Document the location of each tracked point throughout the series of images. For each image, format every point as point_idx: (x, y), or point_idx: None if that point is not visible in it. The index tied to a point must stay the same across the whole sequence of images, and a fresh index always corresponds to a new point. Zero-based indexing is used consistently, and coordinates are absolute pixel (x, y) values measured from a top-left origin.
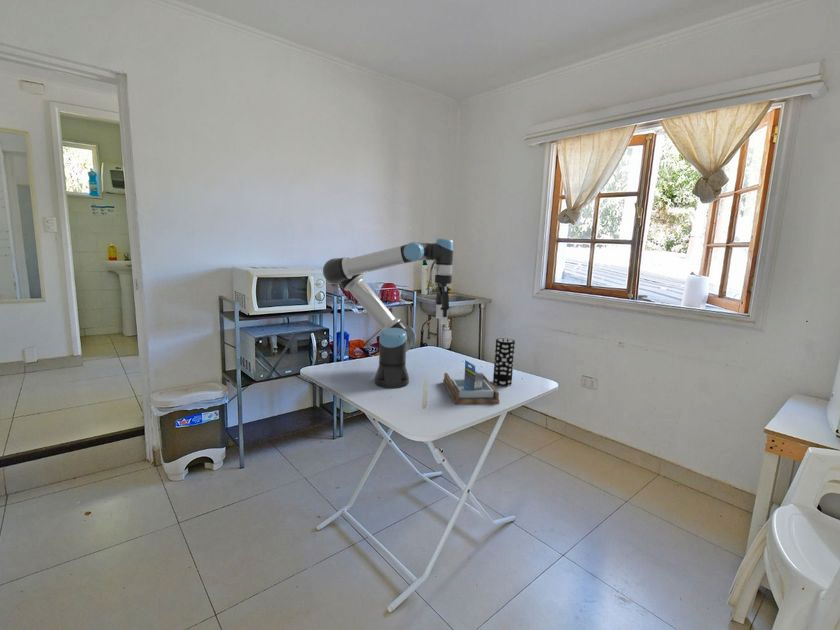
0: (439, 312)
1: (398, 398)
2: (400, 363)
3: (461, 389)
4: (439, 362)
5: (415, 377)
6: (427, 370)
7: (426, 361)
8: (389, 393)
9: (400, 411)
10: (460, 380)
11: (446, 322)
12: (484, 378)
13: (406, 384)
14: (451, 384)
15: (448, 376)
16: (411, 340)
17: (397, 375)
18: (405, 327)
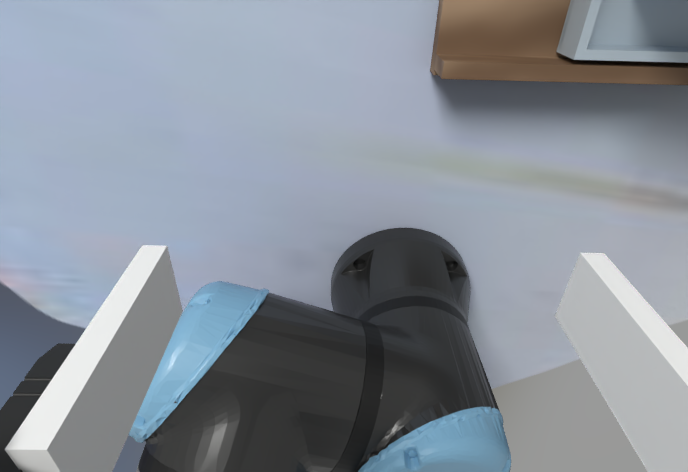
0: (140, 345)
1: (568, 274)
2: (468, 329)
3: (642, 11)
4: (35, 10)
5: (341, 193)
6: (225, 119)
7: (43, 96)
8: (512, 296)
9: (679, 277)
10: (598, 5)
11: (614, 278)
12: None
13: (446, 242)
14: (643, 82)
15: (512, 68)
16: (330, 343)
17: (467, 302)
18: (267, 438)
